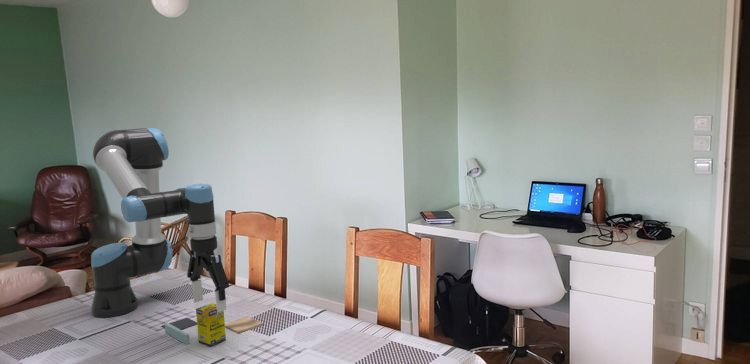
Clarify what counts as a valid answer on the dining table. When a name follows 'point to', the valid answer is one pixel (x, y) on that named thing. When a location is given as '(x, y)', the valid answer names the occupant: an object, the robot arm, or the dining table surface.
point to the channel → (177, 333)
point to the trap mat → (183, 323)
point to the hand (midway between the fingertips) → (209, 305)
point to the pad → (243, 324)
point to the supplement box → (210, 325)
